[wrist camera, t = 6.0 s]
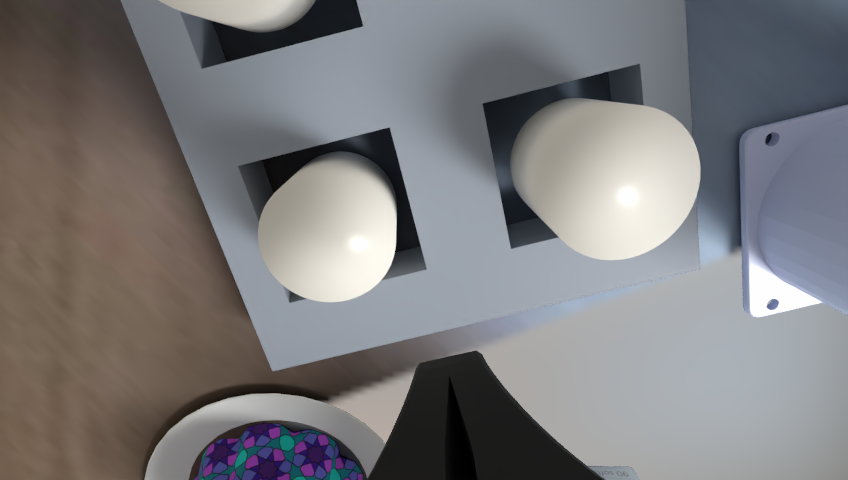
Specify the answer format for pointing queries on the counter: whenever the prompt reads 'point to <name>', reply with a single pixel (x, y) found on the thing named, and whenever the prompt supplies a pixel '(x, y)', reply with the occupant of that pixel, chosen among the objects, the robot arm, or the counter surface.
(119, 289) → the counter surface
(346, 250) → the button
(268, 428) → the pudding
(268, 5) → the button
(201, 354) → the counter surface
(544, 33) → the board
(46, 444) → the counter surface
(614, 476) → the supplement box
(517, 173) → the button
